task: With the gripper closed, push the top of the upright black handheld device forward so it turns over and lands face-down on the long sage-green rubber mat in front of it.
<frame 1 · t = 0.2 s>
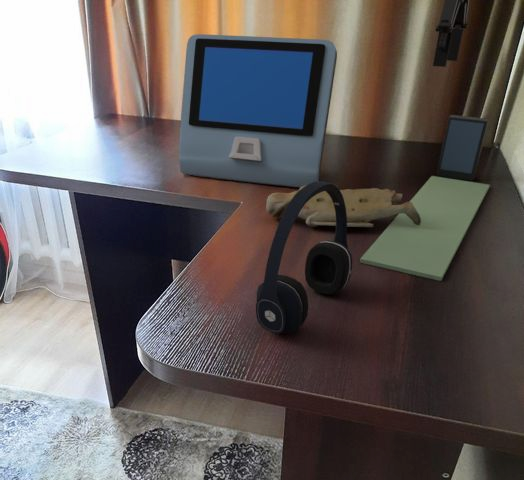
hand: (445, 63, 118), 25 cm above the table, tool pointing down, fingers open, 13 cm apart
headphones: (304, 310, 75), on the table
green mat: (435, 219, 105), on the table
black device: (455, 176, 130), on the table
touchscreen device: (256, 174, 129), on the table
statue: (341, 222, 102), on the table, touching green mat
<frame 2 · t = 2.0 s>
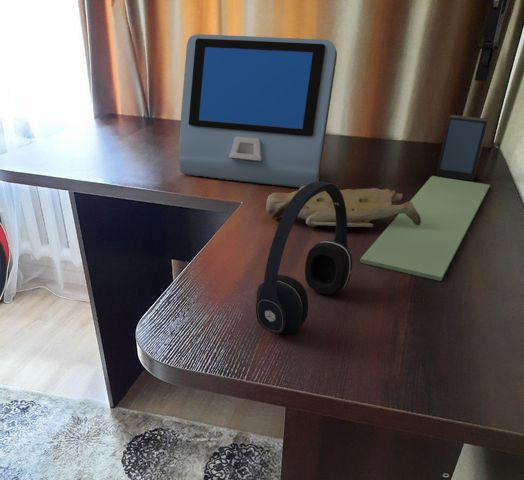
hand: (480, 80, 122), 21 cm above the table, tool pointing down, fingers closed
nothing on the table moved.
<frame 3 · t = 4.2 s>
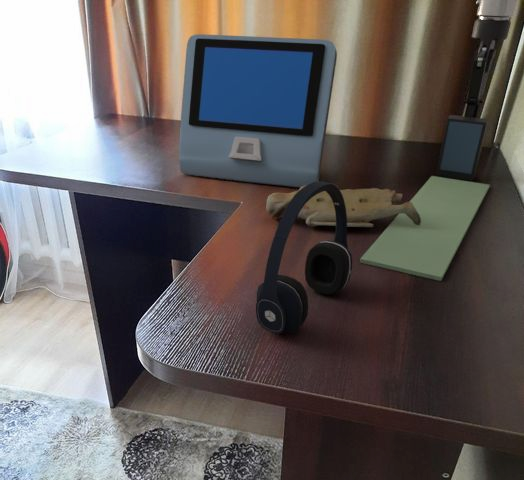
hand: (466, 132, 125), 10 cm above the table, tool pointing down, fingers closed
black device: (455, 176, 129), on the table, tilted 6°
everything else where it was.
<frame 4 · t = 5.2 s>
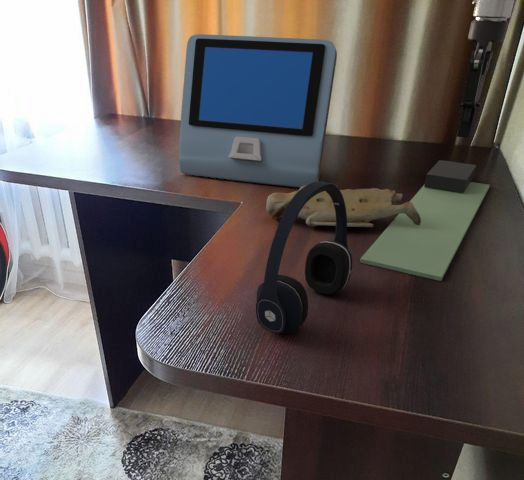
hand: (463, 136, 121), 10 cm above the table, tool pointing down, fingers closed
black device: (456, 168, 127), point 2 cm above the table, tilted 90°, touching green mat
everything else where it was.
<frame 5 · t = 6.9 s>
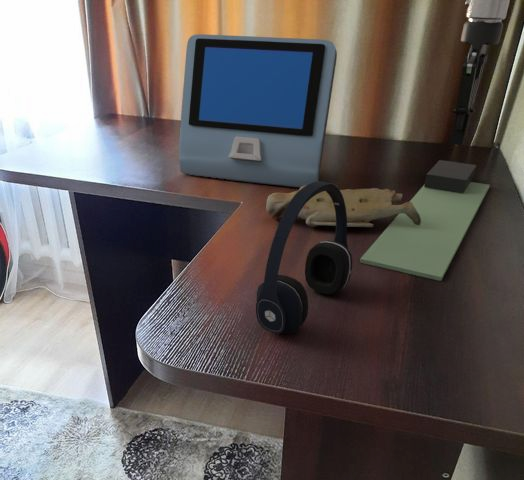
hand: (456, 143, 115), 10 cm above the table, tool pointing down, fingers closed
nothing on the table moved.
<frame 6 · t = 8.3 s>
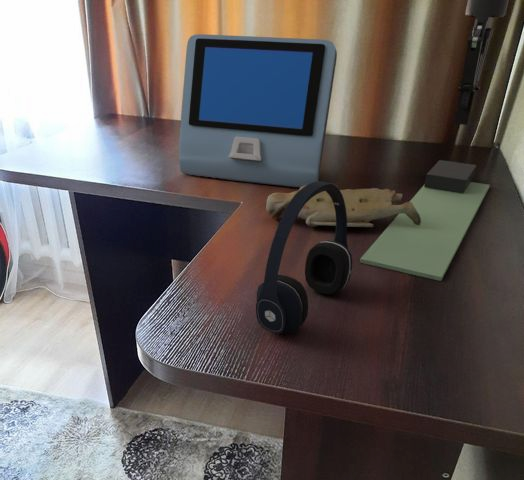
hand: (461, 123, 111), 15 cm above the table, tool pointing down, fingers closed
nothing on the table moved.
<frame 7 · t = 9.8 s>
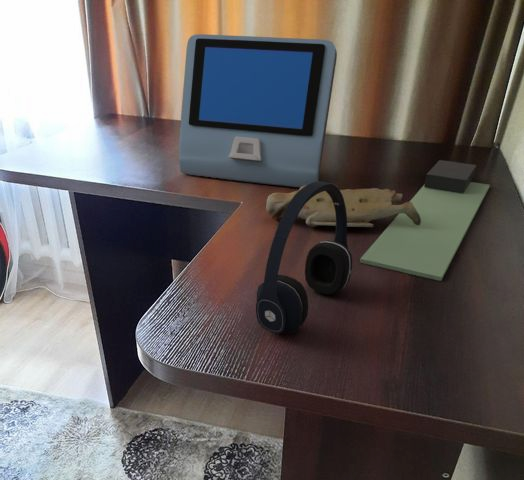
nothing on the table moved.
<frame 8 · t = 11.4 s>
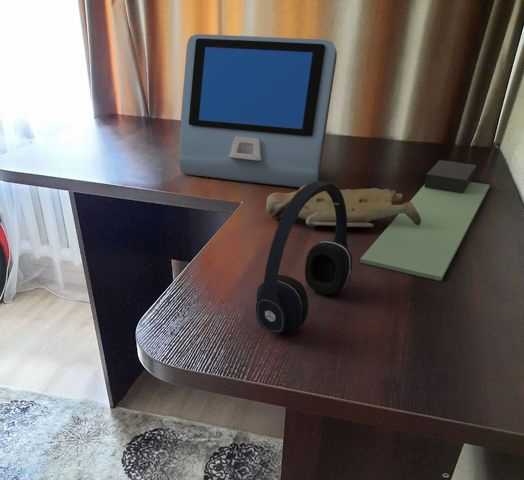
nothing on the table moved.
at the end: black device tilted 90°; black device touching green mat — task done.
